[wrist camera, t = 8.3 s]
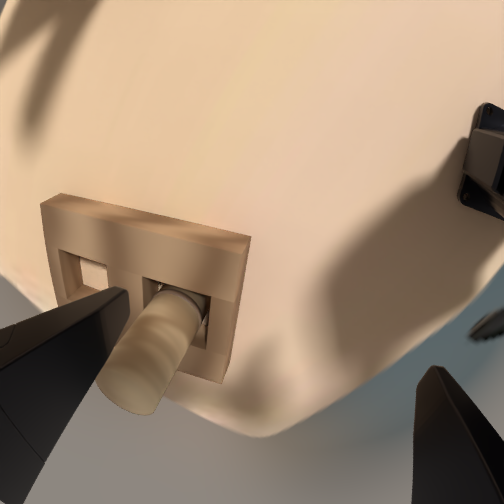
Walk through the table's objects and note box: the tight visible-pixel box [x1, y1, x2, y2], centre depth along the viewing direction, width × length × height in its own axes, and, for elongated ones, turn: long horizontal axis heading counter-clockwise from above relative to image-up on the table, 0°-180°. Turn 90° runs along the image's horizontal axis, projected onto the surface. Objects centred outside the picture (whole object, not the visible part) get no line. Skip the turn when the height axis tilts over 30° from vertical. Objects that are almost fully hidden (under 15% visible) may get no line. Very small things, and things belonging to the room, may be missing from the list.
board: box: [40, 193, 251, 384], centre depth 23 cm, size 16×12×2 cm
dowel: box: [95, 283, 211, 415], centre depth 20 cm, size 4×4×10 cm
